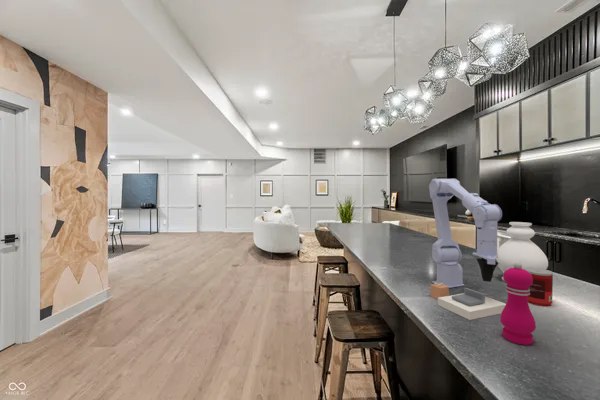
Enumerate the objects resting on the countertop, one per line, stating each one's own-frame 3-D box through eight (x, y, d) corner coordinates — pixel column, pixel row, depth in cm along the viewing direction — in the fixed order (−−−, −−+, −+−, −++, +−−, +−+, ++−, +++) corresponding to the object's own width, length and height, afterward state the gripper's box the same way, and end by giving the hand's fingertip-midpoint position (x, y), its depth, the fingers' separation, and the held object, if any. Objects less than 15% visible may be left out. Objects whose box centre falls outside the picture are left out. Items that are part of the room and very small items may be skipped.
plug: (439, 295, 103) (439, 281, 103) (448, 299, 99) (448, 284, 99) (430, 296, 102) (430, 282, 102) (439, 300, 98) (439, 286, 98)
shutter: (466, 295, 94) (466, 287, 94) (484, 302, 88) (484, 294, 88) (451, 298, 92) (451, 290, 92) (469, 305, 86) (469, 296, 86)
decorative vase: (527, 275, 125) (527, 220, 125) (560, 289, 108) (560, 225, 107) (485, 274, 127) (486, 220, 127) (511, 288, 109) (511, 225, 109)
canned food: (545, 299, 98) (545, 268, 98) (557, 307, 90) (558, 274, 90) (519, 296, 101) (519, 266, 100) (529, 305, 93) (529, 272, 93)
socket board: (472, 298, 99) (472, 291, 99) (507, 312, 88) (507, 304, 88) (437, 305, 94) (437, 297, 94) (469, 320, 82) (469, 311, 82)
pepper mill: (493, 332, 75) (493, 259, 75) (518, 331, 76) (518, 258, 75) (516, 347, 68) (516, 266, 67) (543, 345, 69) (544, 265, 68)
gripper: (469, 236, 101) (469, 273, 101) (476, 243, 88) (476, 285, 88) (492, 237, 98) (492, 275, 98) (503, 244, 85) (503, 288, 85)
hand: (486, 280), depth 93 cm, fingers closed
